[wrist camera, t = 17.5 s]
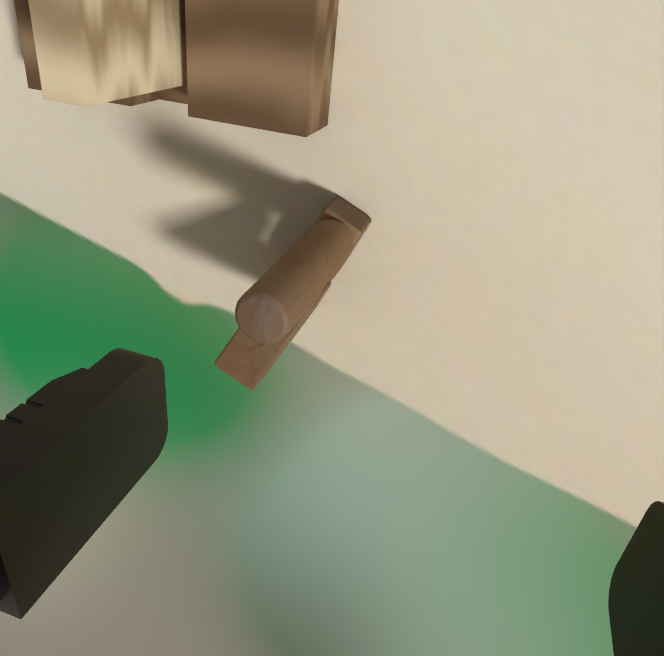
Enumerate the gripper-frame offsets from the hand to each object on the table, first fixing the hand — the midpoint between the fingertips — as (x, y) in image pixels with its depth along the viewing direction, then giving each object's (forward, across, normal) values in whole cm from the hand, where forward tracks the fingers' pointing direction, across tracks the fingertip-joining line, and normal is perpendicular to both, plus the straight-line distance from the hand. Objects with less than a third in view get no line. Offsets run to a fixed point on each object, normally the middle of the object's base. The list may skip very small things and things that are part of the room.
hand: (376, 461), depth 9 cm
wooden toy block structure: (+38, +12, +14) cm, 43 cm away
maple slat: (+37, +25, -4) cm, 45 cm away
